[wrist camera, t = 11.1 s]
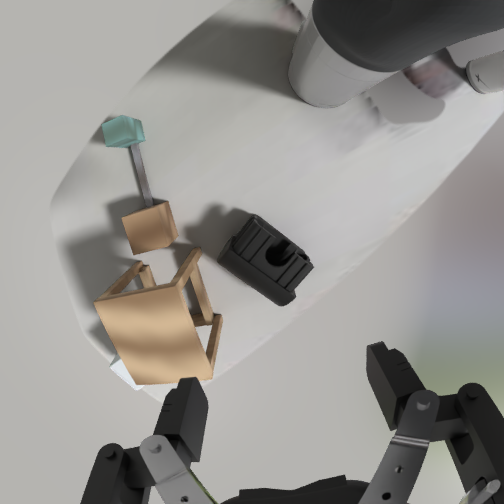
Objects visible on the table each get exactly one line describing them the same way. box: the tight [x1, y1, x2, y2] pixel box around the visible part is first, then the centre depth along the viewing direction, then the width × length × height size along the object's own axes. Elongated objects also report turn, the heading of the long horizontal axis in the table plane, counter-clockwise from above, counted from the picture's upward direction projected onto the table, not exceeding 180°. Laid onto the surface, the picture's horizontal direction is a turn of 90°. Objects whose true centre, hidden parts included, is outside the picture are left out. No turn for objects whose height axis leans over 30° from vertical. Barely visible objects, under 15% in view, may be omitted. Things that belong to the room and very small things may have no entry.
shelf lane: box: [93, 247, 223, 385], centre depth 35 cm, size 12×10×13 cm
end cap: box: [217, 215, 314, 306], centre depth 36 cm, size 10×7×7 cm
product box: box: [109, 353, 145, 391], centre depth 41 cm, size 6×6×7 cm
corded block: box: [101, 115, 178, 255], centre depth 34 cm, size 17×5×6 cm, turn 14°
